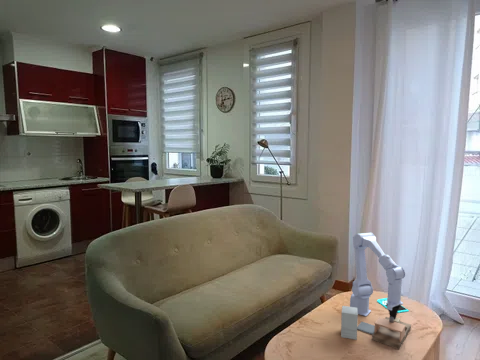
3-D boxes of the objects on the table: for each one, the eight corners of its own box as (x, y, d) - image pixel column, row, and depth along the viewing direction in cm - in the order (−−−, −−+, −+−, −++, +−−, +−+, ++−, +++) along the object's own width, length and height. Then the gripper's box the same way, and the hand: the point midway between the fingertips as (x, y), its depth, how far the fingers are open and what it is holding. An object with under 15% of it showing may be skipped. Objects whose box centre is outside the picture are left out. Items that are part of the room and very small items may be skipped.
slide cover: (374, 332, 161) (374, 317, 160) (378, 326, 167) (379, 312, 166) (401, 341, 154) (402, 326, 153) (404, 335, 159) (405, 320, 158)
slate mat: (356, 329, 168) (356, 327, 168) (361, 322, 174) (361, 321, 174) (372, 334, 163) (372, 333, 163) (377, 327, 169) (377, 326, 169)
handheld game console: (389, 299, 201) (389, 297, 201) (409, 312, 186) (409, 310, 186) (375, 301, 199) (375, 299, 198) (394, 314, 183) (394, 312, 183)
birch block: (388, 330, 167) (389, 319, 166) (391, 327, 170) (391, 315, 169) (397, 333, 164) (398, 321, 164) (399, 330, 167) (400, 318, 167)
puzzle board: (371, 339, 159) (372, 335, 159) (385, 320, 176) (385, 316, 176) (399, 349, 152) (399, 345, 152) (410, 328, 169) (411, 324, 169)
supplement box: (356, 332, 165) (358, 307, 164) (356, 340, 159) (358, 314, 157) (341, 329, 168) (342, 305, 166) (340, 337, 161) (341, 312, 159)
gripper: (399, 299, 153) (397, 327, 155) (407, 288, 165) (405, 315, 166) (383, 295, 158) (381, 322, 159) (391, 285, 169) (390, 310, 171)
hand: (392, 318), depth 163 cm, fingers closed
